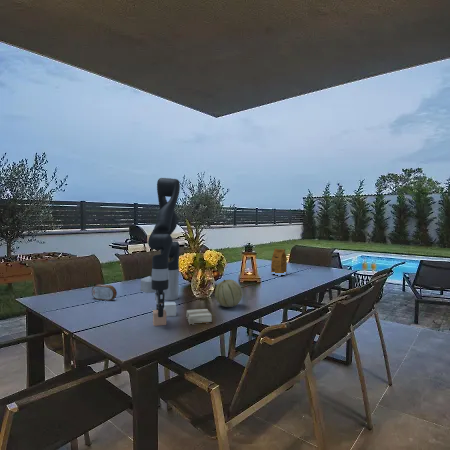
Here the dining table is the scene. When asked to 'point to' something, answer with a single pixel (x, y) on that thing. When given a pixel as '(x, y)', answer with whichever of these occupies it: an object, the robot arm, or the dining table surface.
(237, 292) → the cantaloupe
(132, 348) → the dining table surface
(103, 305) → the dining table surface
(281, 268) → the coffee package
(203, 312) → the gray block
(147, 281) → the lumpy-topped squat cylinder
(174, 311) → the offwhite cube
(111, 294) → the tin
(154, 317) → the terracotta cube
